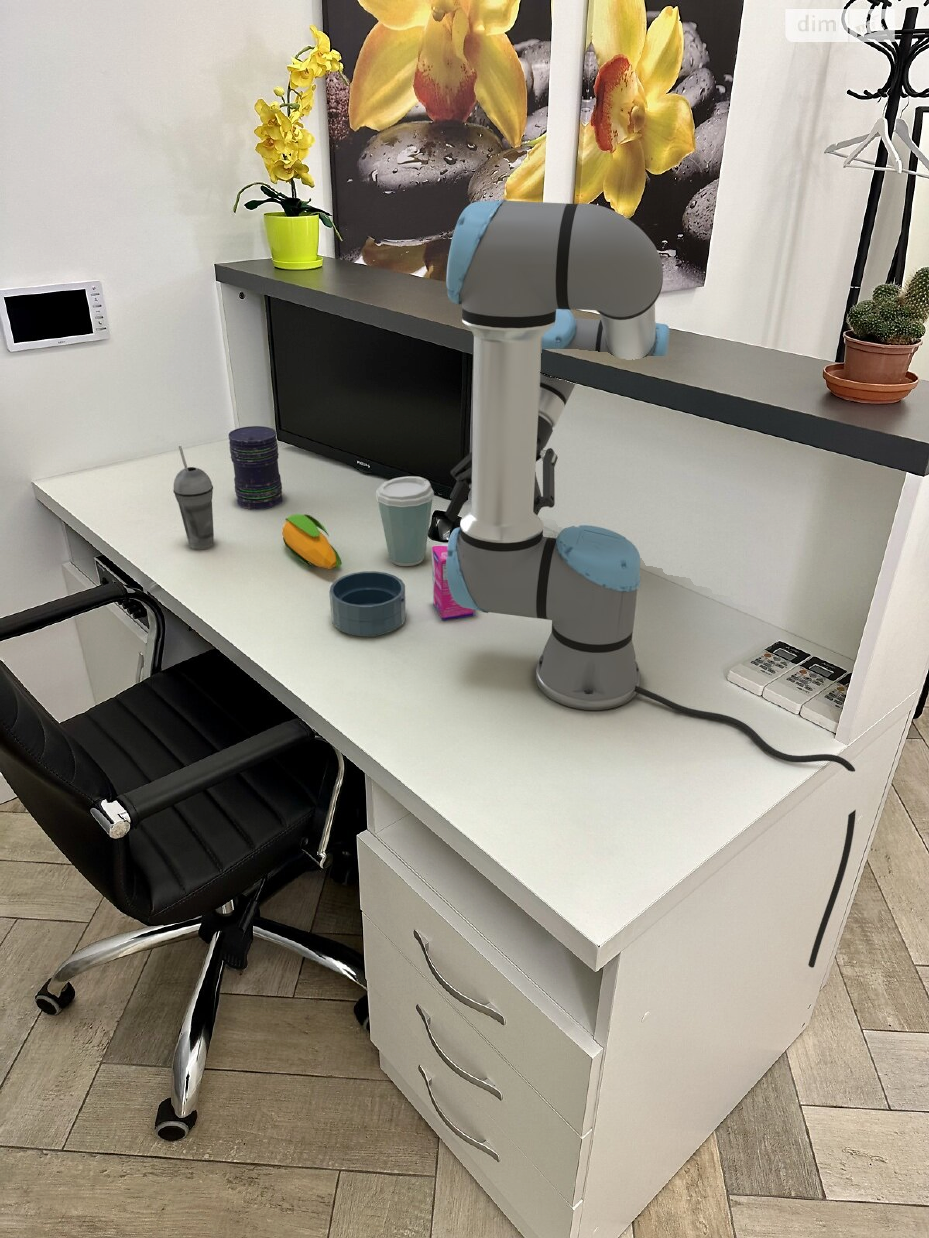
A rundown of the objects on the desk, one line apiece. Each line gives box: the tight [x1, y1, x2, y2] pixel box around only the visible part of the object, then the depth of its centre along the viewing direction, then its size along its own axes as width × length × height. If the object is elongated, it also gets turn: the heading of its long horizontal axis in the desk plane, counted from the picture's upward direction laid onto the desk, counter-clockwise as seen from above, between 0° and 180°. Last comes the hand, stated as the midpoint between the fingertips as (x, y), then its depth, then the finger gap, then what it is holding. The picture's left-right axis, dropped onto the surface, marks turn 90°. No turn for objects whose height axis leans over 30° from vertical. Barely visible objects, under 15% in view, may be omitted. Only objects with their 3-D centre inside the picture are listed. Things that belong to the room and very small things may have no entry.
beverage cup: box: [172, 445, 215, 551], centre depth 167 cm, size 7×7×20 cm
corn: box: [281, 513, 343, 570], centre depth 165 cm, size 7×8×20 cm
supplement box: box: [431, 543, 475, 621], centre depth 148 cm, size 6×6×12 cm
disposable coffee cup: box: [375, 475, 435, 567], centre depth 164 cm, size 11×11×15 cm
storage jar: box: [228, 425, 284, 511], centre depth 188 cm, size 10×10×15 cm
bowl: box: [328, 570, 407, 637], centre depth 146 cm, size 12×12×6 cm
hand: (481, 528), depth 150 cm, fingers open, 13 cm apart
